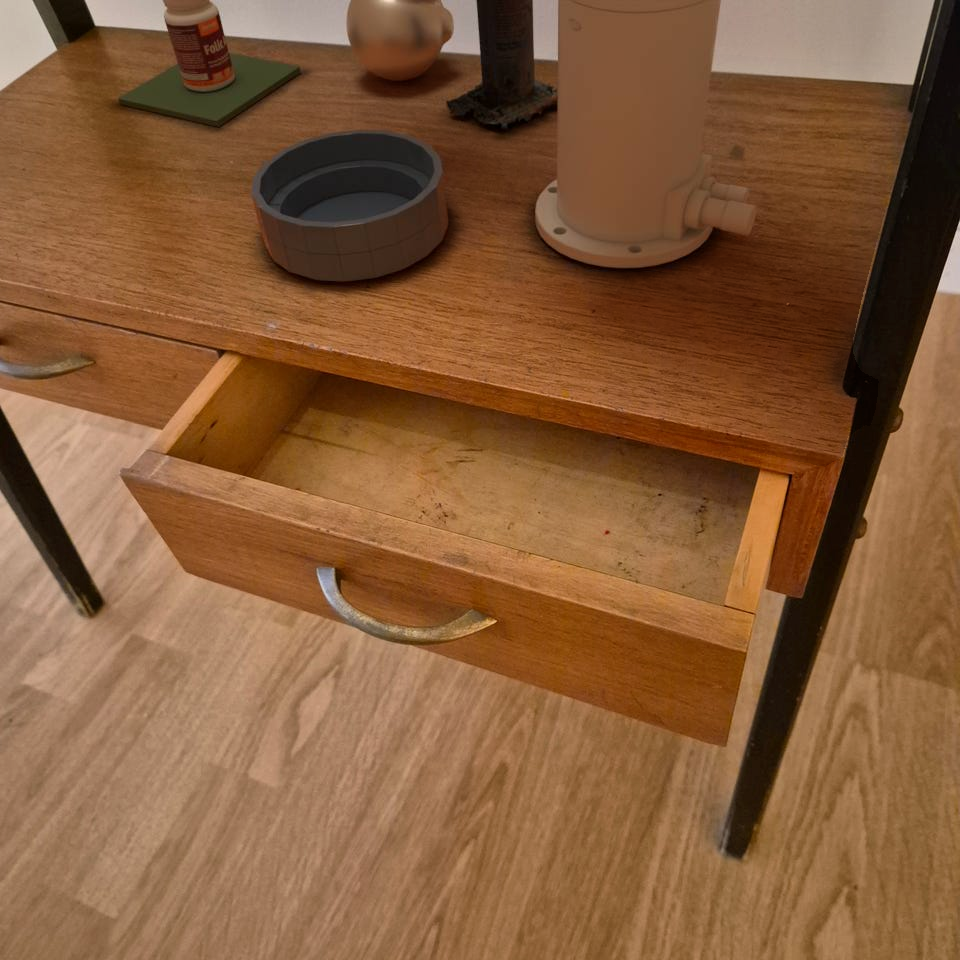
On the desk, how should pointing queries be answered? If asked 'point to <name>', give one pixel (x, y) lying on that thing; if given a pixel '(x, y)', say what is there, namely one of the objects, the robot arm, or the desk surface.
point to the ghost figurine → (398, 35)
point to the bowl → (351, 204)
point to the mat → (216, 105)
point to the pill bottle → (199, 44)
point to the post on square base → (505, 67)
